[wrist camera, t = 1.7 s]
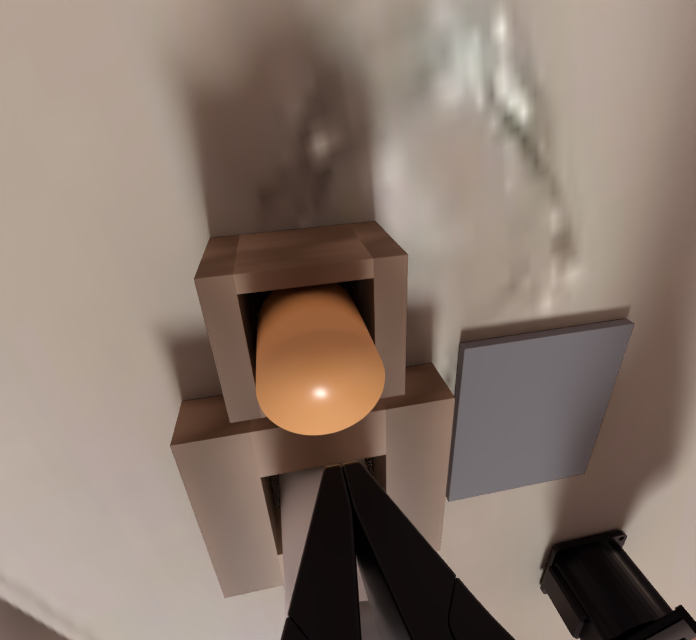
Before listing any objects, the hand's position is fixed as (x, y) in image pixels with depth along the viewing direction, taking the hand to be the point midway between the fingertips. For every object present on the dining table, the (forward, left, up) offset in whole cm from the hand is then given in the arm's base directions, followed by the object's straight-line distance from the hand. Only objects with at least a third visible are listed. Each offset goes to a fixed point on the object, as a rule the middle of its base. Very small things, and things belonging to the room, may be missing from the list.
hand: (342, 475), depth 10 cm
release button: (0, 0, -7) cm, 7 cm away
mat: (-13, +10, -10) cm, 19 cm away
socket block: (0, +7, -10) cm, 12 cm away
